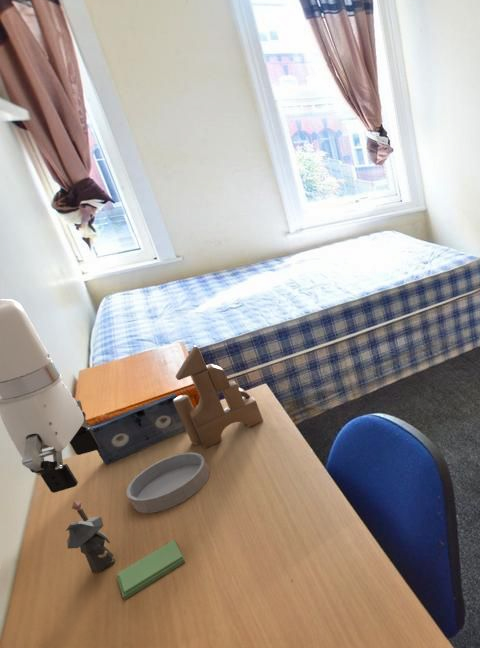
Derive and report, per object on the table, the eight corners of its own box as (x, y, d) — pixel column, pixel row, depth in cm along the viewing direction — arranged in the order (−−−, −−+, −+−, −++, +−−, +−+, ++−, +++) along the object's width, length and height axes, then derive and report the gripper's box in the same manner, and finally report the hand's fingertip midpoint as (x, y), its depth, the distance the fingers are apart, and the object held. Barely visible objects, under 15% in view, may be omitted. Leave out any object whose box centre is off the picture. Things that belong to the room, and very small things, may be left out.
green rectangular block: (124, 599, 78) (121, 594, 78) (118, 579, 82) (115, 573, 82) (185, 562, 84) (182, 557, 83) (176, 544, 88) (174, 539, 87)
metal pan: (141, 524, 93) (133, 511, 92) (127, 491, 103) (120, 479, 101) (218, 482, 102) (212, 470, 101) (199, 455, 112) (194, 444, 110)
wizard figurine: (130, 557, 86) (101, 509, 81) (94, 584, 82) (62, 534, 77) (108, 543, 90) (79, 496, 85) (73, 567, 85) (40, 519, 81)
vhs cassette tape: (189, 423, 125) (175, 392, 121) (191, 428, 123) (177, 396, 119) (103, 460, 114) (84, 427, 110) (104, 465, 112) (85, 432, 108)
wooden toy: (254, 411, 127) (223, 329, 117) (263, 420, 123) (231, 336, 113) (190, 441, 117) (150, 354, 107) (197, 452, 113) (156, 363, 103)
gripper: (22, 363, 76) (71, 446, 83) (-43, 419, 62) (23, 514, 68) (78, 350, 79) (121, 432, 86) (28, 401, 64) (85, 495, 71)
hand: (78, 468), depth 77 cm, fingers open, 9 cm apart
